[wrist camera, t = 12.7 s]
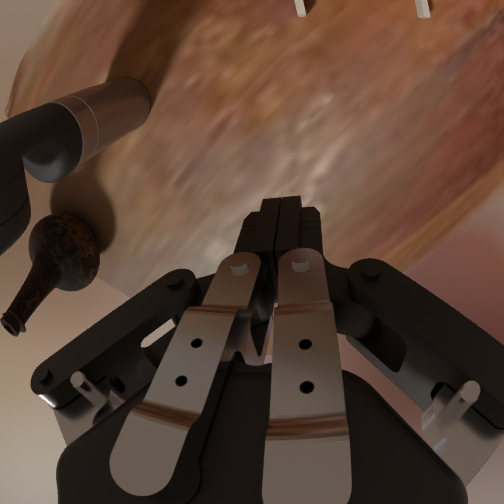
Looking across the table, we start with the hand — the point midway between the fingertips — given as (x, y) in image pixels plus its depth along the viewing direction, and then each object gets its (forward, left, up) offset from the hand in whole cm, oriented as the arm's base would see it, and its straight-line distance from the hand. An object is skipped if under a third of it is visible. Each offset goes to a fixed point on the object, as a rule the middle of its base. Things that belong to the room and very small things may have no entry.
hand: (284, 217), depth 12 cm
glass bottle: (-41, -34, -32) cm, 62 cm away
